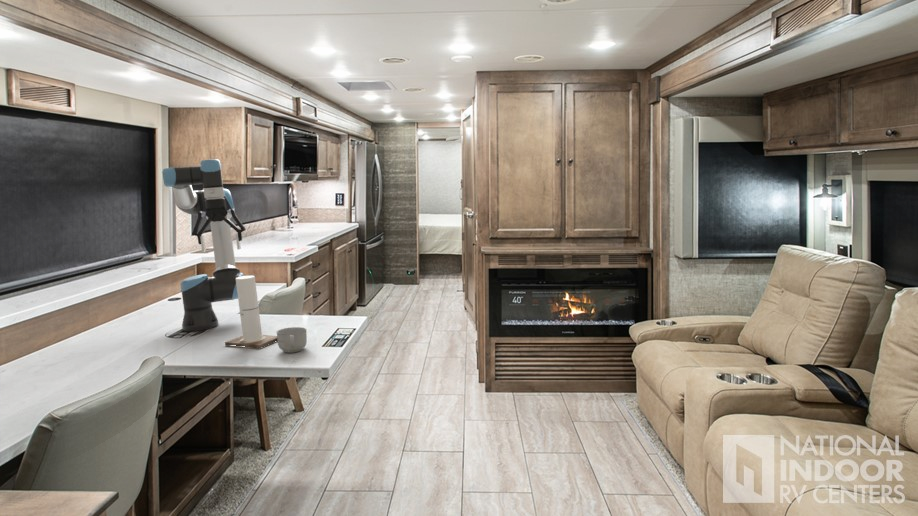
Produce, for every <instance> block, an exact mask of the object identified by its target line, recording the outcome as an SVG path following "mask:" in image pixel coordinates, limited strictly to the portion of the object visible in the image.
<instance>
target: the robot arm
mask: <svg viewBox="0 0 918 516" xmlns="http://www.w3.org/2000/svg"><path fill="white" fill-rule="evenodd" d="M199 163H200V164H199V165H196V166H193V165H192V166H178V167H175V166H174V167H173V166H171V167H168V168H167V167H166V168H163V169H162V172H161V173H162V179H163V185H164V186H165V187H168V188H169V187H171V189H172V191H173V193H174V201H173V202H174V203H175V205H176V207H177V208H178V209H179V210H181V211H182V212H183V213H186V214H189V215H192V216H197V219H196V222H195V225H194V227H193V229H192V230H193V231H192V233H191V234H192V236H196V237H197V242H198V245H201V251H202V254H203V253H204V254H205V253H206V252H207V249H206V242H205V235H203V234H204V232H205V231H206V230H207V229H208V227H209V226H210V231H211V239H212V247H213V255H214V266H215V270H214V271H212V275H213V276H209V275H208V274H206V273H203V274H202V273H201V274H198V275H193V276H189V277H186V278H185V279H183V280H182V281H181V282H180V292H181V296H182V304H183V311H184V313H183V319H182V324H181V328H182V331H184V332H199V331H203V330H209V329H213V328H214V327H217V326H219V318H218V317H217V315H216V313H215V311H214V309H213V305H212V303H218V302H226V301H234V300H237V299H238V293H237V286H236V278H237V277H242V276H245V275H244V273H243V272H241V270H240V268H238V267H237V266H236V259H235V251H234V245H233V236H232V229H233V230H234V231H235V232H236V233H235V240H236V248H237V250H241V243H240V242H242V241H243V236H242V233H243V232H244V231H246V227H245V226H244V224H243V222H242V221H241V220H240V218H239V217H238V215H237V214H236V211H235V210H236V208H235V204H234V200H233V196H232V193H231V191H230V189H227V188H224V183H223V173H222V165H221V162H220V160H219V159H218V158H217V159H216V158H213V159H201V160H200V161H199ZM196 185H202V187H203V188H202V190H193V186H196ZM204 217H205V218H206V221H205V223H204V224H203V225H202V227H201V228H200V226H201V224H202V221H203V218H204ZM232 218H233V220H234V221H235V223H236V224H237V225H238V226H237V225H236V224H235V223H234V221H232V220H231V219H232ZM199 229H200V230H199Z"/></svg>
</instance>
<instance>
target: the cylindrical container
mask: <svg viewBox="0 0 918 516" xmlns="http://www.w3.org/2000/svg"><path fill="white" fill-rule="evenodd" d="M236 286H237V293H238V307H239V314H240V322H241V331H242V336H243V340H244V341H256V340H259V339H261V338H262V335H263V333H262V324H261V318H260V317H261V316H260V308H259V301H258V300H259V299H258V292H257V282H256V277H255V275H244V276H242V277H237V278H236Z"/></svg>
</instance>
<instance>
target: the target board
mask: <svg viewBox="0 0 918 516" xmlns="http://www.w3.org/2000/svg"><path fill="white" fill-rule="evenodd" d="M275 341H277V342H278V340H277V335H267V334H266V335H265V334H262V338H261V339H259V340H256V341H244V340H243V335H241V336H238V337H237V336H236V337H235V338H232V339H230V340H226V341H225V342H224V345H236V346H245V347H253V348H252V349H255V348H261V347H263V348H265V347H264V346H266V345H268V344H270V345H272V344H271V343H273V342H275ZM275 343H276V342H275ZM273 344H274V343H273ZM268 346H269V345H268ZM266 347H267V346H266ZM261 349H262V348H261Z"/></svg>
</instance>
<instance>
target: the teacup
mask: <svg viewBox="0 0 918 516" xmlns="http://www.w3.org/2000/svg"><path fill="white" fill-rule="evenodd" d="M307 332H308V331H307V328H305V327H299V326H297V327H295V326H292V327H285V328H282V329H278V330H277V331H276V336H277V340H278V341H277V346H278V348H279V349H280V350H281V351H283V353H297V352H300V351H302V350H303V349H304V348H305V347H306V346H307V343H308V342H307V338H308V337H307Z"/></svg>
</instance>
